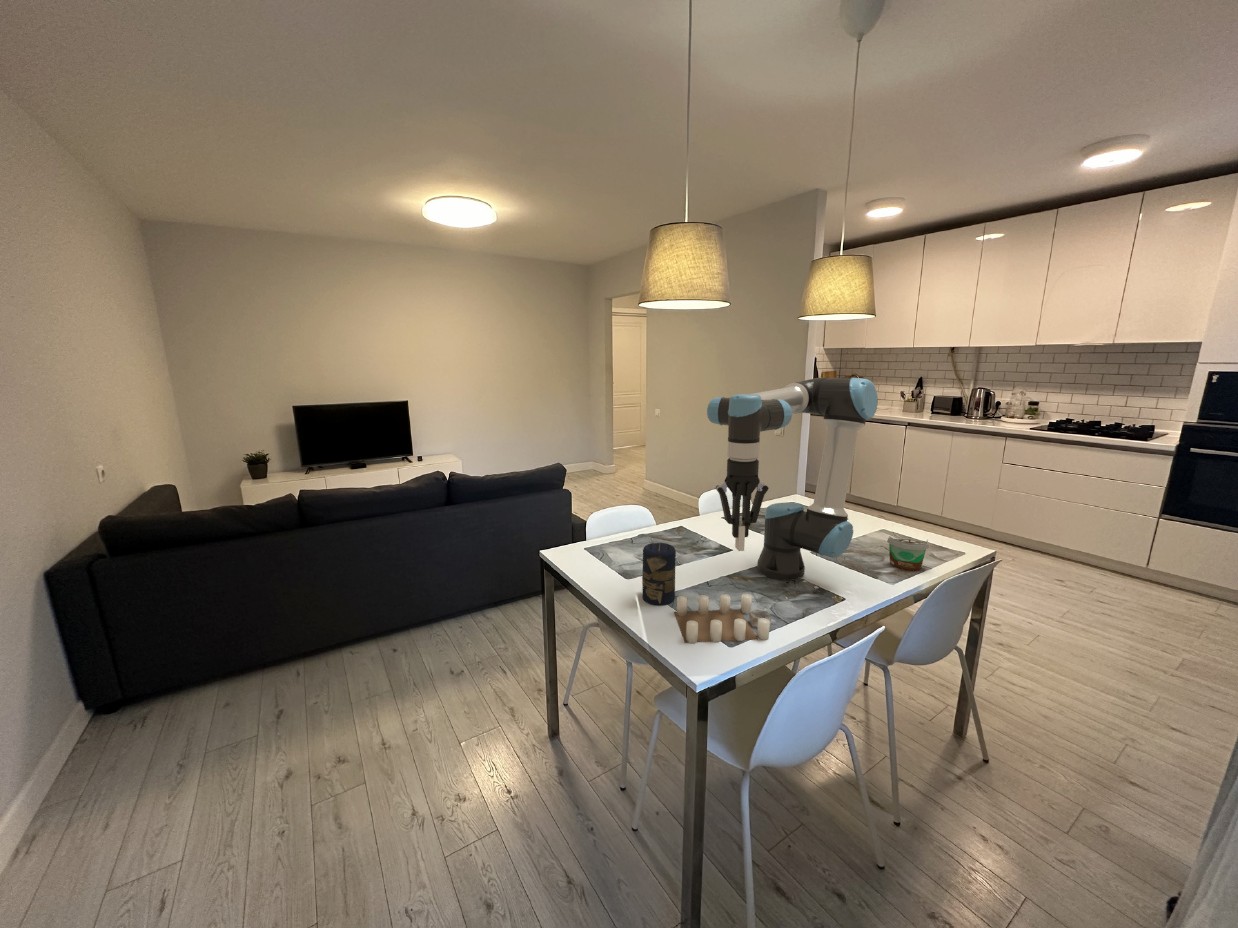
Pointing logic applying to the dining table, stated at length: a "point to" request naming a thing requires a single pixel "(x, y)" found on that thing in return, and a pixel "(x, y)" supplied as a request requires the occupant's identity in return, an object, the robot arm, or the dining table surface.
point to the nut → (756, 615)
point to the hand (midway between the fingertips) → (739, 548)
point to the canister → (658, 574)
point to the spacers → (717, 624)
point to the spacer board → (705, 623)
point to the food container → (907, 553)
